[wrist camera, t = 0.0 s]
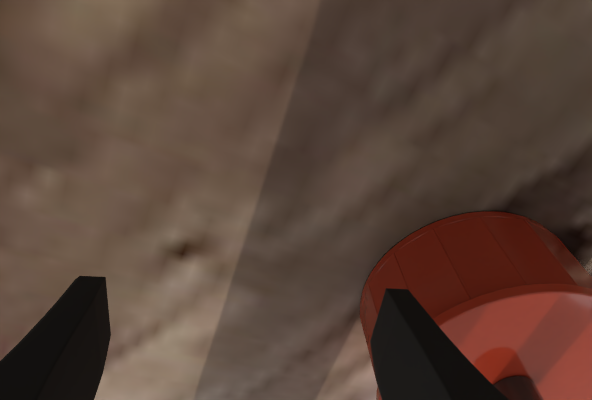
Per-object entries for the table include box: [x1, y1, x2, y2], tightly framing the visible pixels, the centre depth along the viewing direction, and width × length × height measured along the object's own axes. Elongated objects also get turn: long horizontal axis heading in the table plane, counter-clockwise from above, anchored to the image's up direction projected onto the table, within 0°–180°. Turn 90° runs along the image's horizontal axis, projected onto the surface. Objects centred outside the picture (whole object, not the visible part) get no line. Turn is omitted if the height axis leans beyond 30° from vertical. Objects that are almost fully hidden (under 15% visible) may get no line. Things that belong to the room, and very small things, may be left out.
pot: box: [360, 211, 592, 385], centre depth 26 cm, size 11×11×6 cm
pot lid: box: [376, 283, 592, 400], centre depth 23 cm, size 12×12×3 cm
